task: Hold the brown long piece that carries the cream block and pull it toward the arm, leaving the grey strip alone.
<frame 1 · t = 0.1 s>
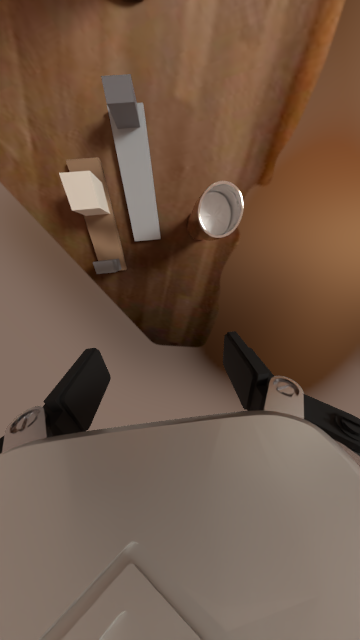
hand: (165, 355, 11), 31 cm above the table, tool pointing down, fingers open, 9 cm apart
beer glass: (199, 225, 34), on the table
brown long piece: (96, 221, 29), point 3 cm above the table, slide at 0.0 cm, touching cream block
grey strip: (136, 178, 27), point 3 cm above the table, slide at 0.0 cm
cream block: (93, 199, 29), point 1 cm above the table, touching brown long piece
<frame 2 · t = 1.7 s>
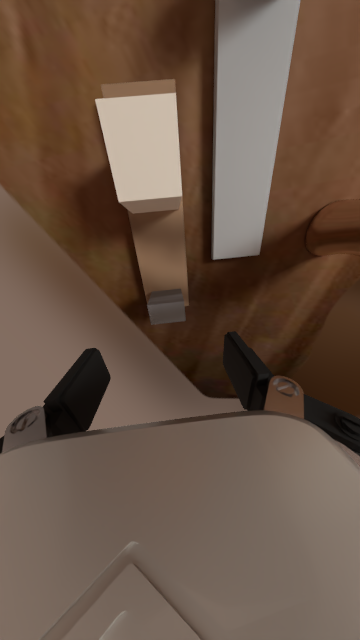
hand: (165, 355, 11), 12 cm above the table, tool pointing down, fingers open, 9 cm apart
beer glass: (327, 230, 19), on the table
brown long piece: (156, 225, 15), point 3 cm above the table, slide at 0.0 cm, touching cream block
grey strip: (258, 129, 12), point 3 cm above the table, slide at 0.0 cm
cream block: (151, 180, 14), point 1 cm above the table, touching brown long piece
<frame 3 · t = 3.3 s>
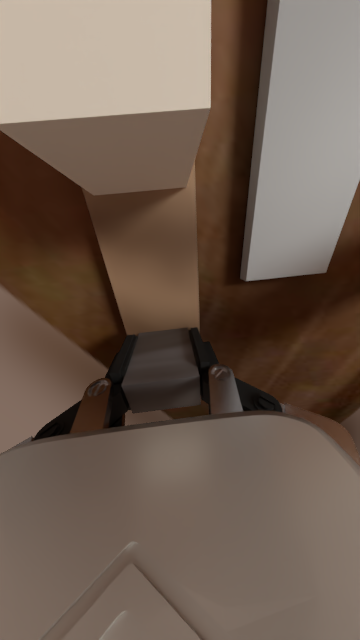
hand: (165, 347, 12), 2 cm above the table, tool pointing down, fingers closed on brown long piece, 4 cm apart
brown long piece: (139, 218, 7), point 3 cm above the table, slide at 0.0 cm, touching cream block, gripper
cream block: (128, 121, 7), point 1 cm above the table, touching brown long piece
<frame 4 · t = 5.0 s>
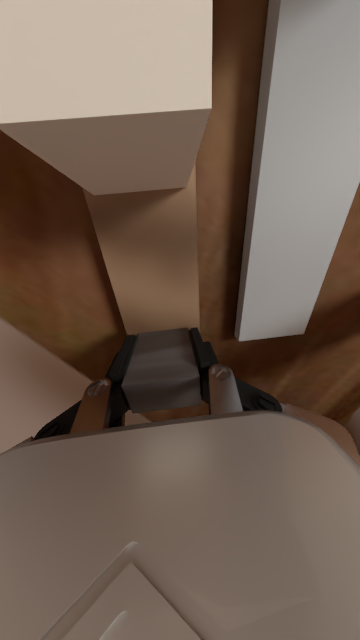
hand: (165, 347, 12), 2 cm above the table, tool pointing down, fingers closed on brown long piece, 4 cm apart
brown long piece: (140, 218, 7), point 3 cm above the table, slide at 5.3 cm, touching cream block, gripper
grey strip: (344, 181, 7), point 3 cm above the table, slide at 0.0 cm
cream block: (129, 120, 7), point 1 cm above the table, touching brown long piece
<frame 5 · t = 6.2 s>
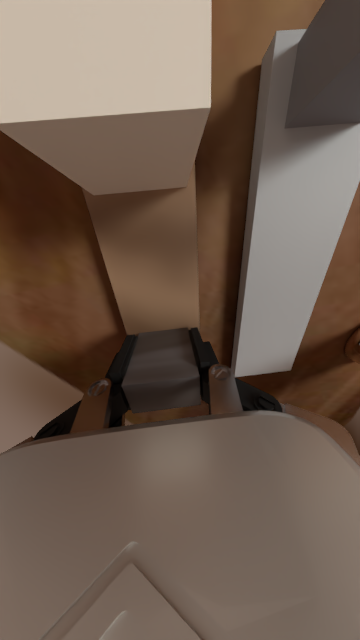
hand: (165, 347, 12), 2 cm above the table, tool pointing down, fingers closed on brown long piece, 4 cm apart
brown long piece: (140, 218, 7), point 3 cm above the table, slide at 9.9 cm, touching cream block, gripper
grey strip: (310, 281, 9), point 3 cm above the table, slide at 0.0 cm
cream block: (128, 120, 7), point 1 cm above the table, touching brown long piece
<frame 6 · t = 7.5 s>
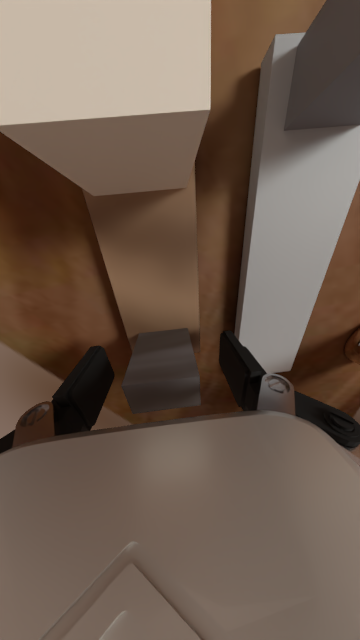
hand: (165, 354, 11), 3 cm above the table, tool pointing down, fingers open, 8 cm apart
brown long piece: (140, 218, 7), point 3 cm above the table, slide at 10.0 cm, touching cream block
grey strip: (310, 282, 9), point 3 cm above the table, slide at 0.0 cm
cream block: (128, 121, 7), point 1 cm above the table, touching brown long piece
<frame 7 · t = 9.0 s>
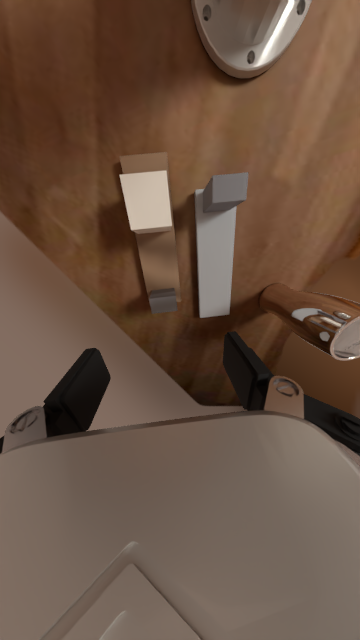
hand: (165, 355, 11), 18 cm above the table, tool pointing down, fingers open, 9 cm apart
beer glass: (272, 297, 30), on the table
brown long piece: (155, 242, 21), point 3 cm above the table, slide at 10.0 cm, touching cream block
grey strip: (219, 264, 23), point 3 cm above the table, slide at 0.0 cm
cream block: (151, 212, 21), point 1 cm above the table, touching brown long piece
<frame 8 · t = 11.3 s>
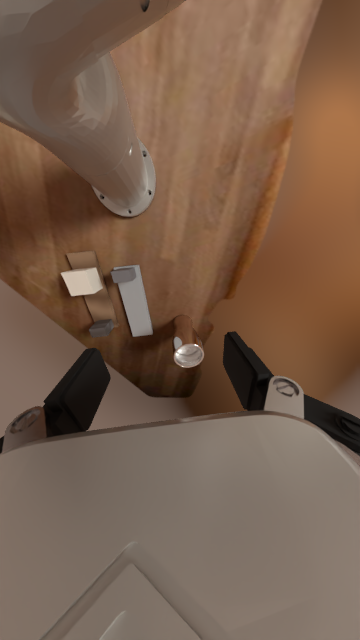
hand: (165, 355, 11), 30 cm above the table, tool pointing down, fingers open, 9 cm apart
beer glass: (182, 323, 44), on the table
brown long piece: (91, 297, 35), point 3 cm above the table, slide at 10.0 cm, touching cream block
grey strip: (133, 307, 37), point 3 cm above the table, slide at 0.0 cm
cream block: (89, 279, 35), point 1 cm above the table, touching brown long piece
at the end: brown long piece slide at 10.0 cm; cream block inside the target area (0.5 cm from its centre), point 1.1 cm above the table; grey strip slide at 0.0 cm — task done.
